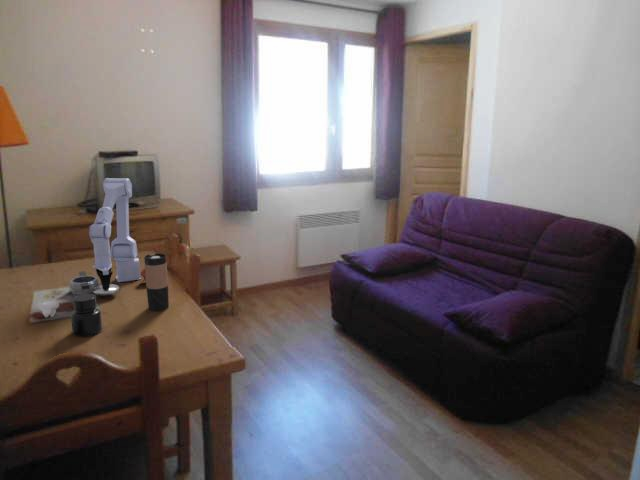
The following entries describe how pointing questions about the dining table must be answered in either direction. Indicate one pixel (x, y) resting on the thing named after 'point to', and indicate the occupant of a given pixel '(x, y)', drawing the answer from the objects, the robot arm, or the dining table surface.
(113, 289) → the lid
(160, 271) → the travel mug
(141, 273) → the red bell pepper
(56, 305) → the elephant figurine
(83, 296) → the ink bottle
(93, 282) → the pot
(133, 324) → the dining table surface
